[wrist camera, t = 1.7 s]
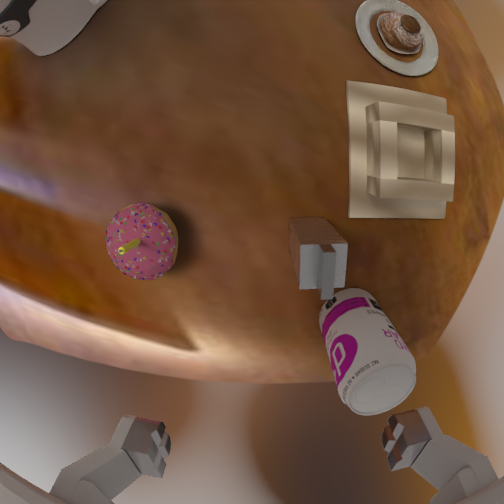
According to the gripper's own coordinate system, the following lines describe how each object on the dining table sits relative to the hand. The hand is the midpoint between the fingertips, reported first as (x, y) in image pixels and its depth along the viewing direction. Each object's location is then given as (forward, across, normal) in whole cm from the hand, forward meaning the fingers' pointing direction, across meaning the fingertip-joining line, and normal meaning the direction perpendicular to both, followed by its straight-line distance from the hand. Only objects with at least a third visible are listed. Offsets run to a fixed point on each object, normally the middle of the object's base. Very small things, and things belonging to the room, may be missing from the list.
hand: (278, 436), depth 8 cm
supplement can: (+27, -10, +10) cm, 31 cm away
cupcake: (+26, +14, -1) cm, 30 cm away
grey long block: (+26, -4, 0) cm, 26 cm away
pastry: (+26, -17, -27) cm, 41 cm away
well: (+26, -16, -11) cm, 32 cm away
